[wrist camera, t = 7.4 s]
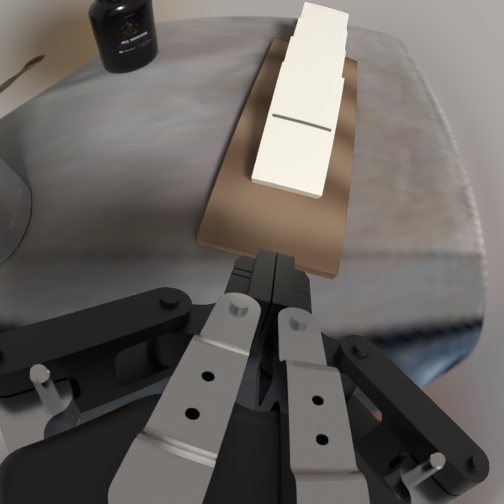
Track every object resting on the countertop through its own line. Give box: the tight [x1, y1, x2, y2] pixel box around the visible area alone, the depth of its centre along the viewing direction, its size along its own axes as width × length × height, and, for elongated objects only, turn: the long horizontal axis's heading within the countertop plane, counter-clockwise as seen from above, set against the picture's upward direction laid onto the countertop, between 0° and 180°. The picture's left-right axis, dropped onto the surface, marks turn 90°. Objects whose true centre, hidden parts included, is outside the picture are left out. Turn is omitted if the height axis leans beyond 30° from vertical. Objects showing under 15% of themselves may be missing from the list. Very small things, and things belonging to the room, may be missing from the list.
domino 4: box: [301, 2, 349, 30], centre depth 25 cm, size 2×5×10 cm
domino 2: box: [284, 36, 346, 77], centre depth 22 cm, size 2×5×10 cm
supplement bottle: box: [88, 0, 158, 73], centre depth 22 cm, size 7×7×12 cm
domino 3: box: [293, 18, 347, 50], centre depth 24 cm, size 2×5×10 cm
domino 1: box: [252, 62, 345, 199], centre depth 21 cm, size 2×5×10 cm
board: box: [196, 38, 357, 279], centre depth 25 cm, size 26×10×1 cm, turn 166°
